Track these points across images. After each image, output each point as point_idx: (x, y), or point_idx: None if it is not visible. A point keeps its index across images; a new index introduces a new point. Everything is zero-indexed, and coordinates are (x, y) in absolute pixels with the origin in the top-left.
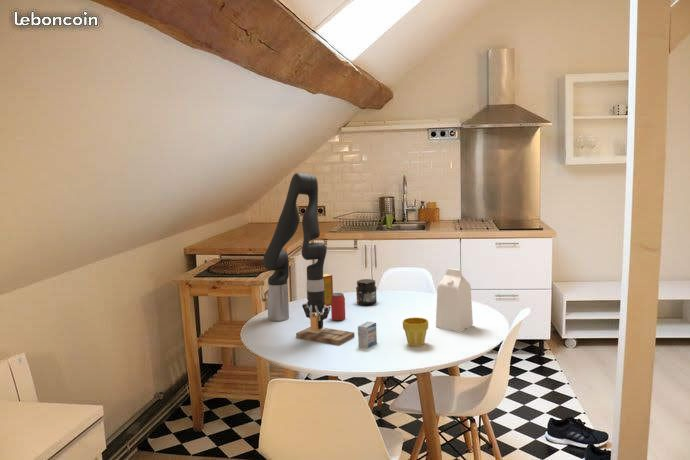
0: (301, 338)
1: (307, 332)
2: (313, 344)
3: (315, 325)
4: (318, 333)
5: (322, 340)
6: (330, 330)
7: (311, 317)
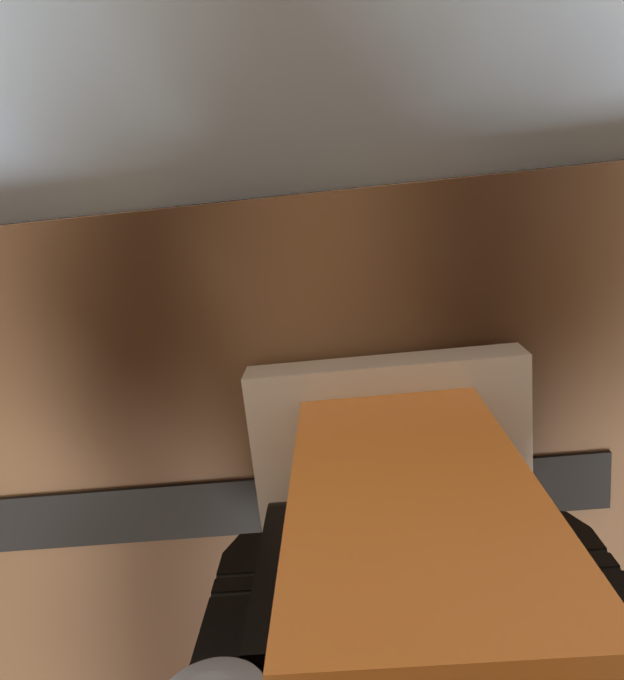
0: (560, 166)
1: (537, 335)
2: (90, 6)
3: (326, 467)
4: None
5: (24, 222)
6: None
7: (561, 635)
